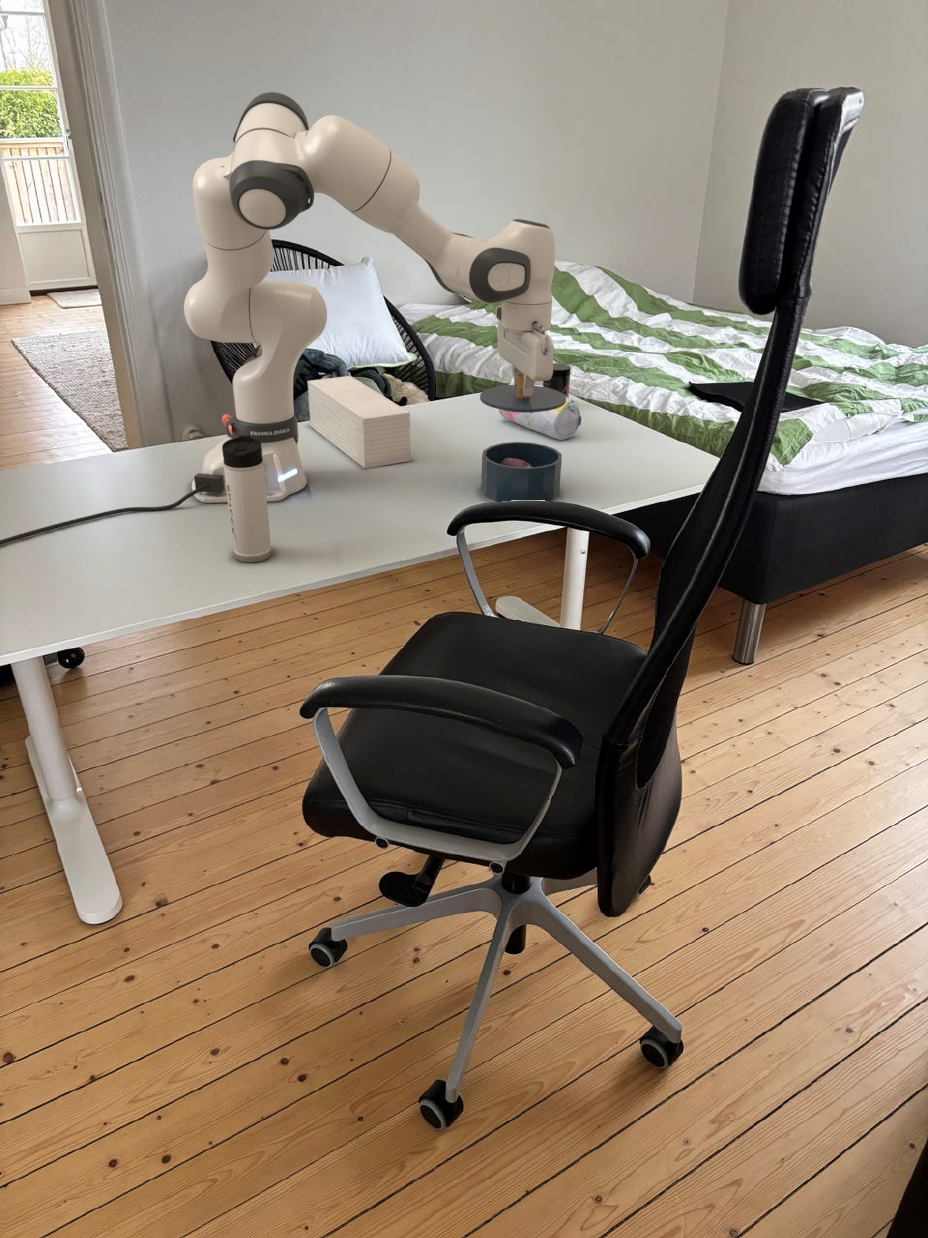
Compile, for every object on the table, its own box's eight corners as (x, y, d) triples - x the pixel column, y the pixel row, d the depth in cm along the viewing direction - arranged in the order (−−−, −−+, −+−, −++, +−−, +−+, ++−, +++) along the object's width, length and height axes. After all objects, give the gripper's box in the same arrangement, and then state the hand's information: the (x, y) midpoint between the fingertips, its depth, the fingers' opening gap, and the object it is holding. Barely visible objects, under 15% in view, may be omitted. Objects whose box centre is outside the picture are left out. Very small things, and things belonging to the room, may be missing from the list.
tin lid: (495, 418, 166) (496, 389, 164) (469, 393, 180) (469, 366, 177) (579, 412, 171) (581, 383, 168) (547, 388, 184) (548, 361, 182)
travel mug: (274, 546, 161) (264, 434, 151) (268, 563, 155) (257, 448, 145) (238, 546, 161) (225, 434, 151) (231, 563, 155) (217, 447, 145)
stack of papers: (410, 461, 200) (410, 412, 195) (364, 468, 195) (363, 418, 190) (352, 420, 224) (350, 375, 219) (310, 426, 219) (307, 380, 214)
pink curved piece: (531, 502, 183) (545, 469, 182) (517, 497, 180) (530, 463, 179) (498, 488, 190) (511, 455, 188) (483, 483, 186) (496, 450, 185)
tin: (496, 511, 176) (497, 471, 172) (471, 483, 189) (472, 445, 185) (570, 503, 180) (574, 464, 177) (541, 476, 193) (544, 439, 189)
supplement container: (554, 413, 232) (557, 371, 227) (535, 406, 237) (538, 365, 232) (573, 408, 236) (576, 367, 231) (554, 402, 241) (557, 361, 236)
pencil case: (582, 437, 216) (585, 397, 211) (556, 444, 211) (559, 403, 206) (519, 416, 230) (521, 377, 225) (493, 422, 225) (495, 383, 220)
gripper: (564, 328, 160) (559, 407, 166) (524, 305, 177) (520, 377, 183) (530, 329, 158) (526, 409, 165) (492, 306, 175) (490, 379, 182)
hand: (522, 392), depth 174 cm, fingers closed on tin lid, 2 cm apart
